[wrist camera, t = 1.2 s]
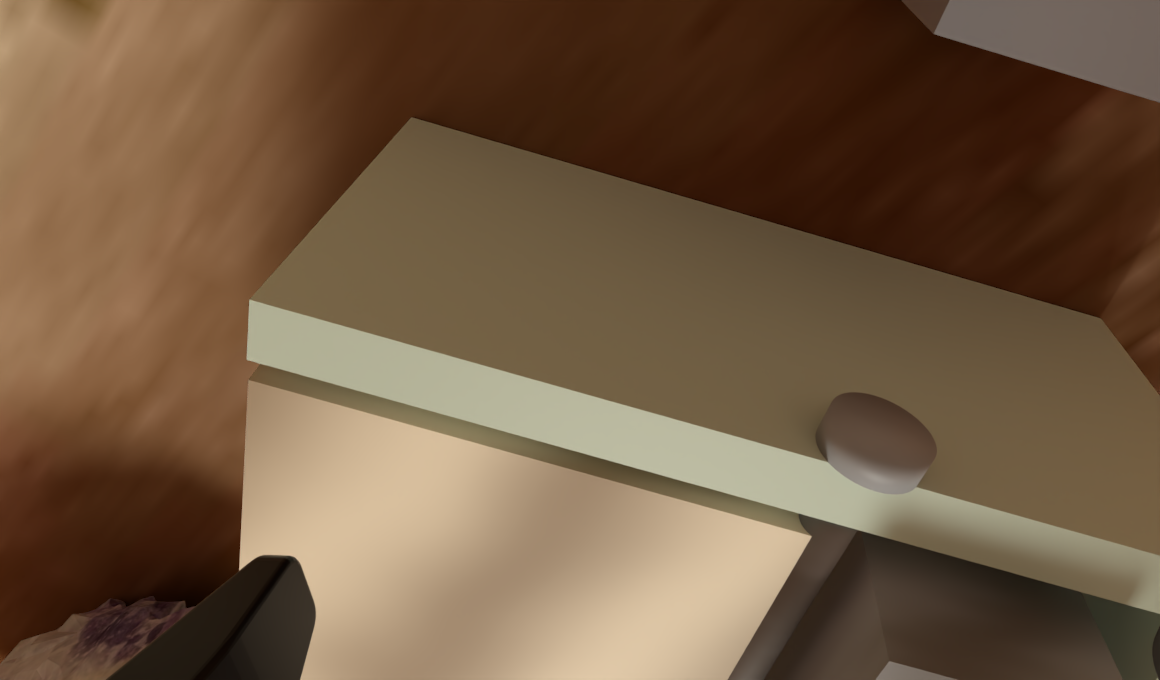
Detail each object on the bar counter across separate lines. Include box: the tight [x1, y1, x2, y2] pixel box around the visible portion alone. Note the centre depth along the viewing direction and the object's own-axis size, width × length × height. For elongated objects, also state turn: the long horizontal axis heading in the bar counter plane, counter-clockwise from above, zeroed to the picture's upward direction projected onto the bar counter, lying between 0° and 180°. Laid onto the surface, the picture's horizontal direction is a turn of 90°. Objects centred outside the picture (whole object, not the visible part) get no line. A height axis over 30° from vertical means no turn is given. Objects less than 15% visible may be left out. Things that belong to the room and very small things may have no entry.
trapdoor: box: [239, 364, 1123, 680], centre depth 18 cm, size 16×12×4 cm
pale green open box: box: [247, 117, 1160, 680], centre depth 21 cm, size 18×16×9 cm
